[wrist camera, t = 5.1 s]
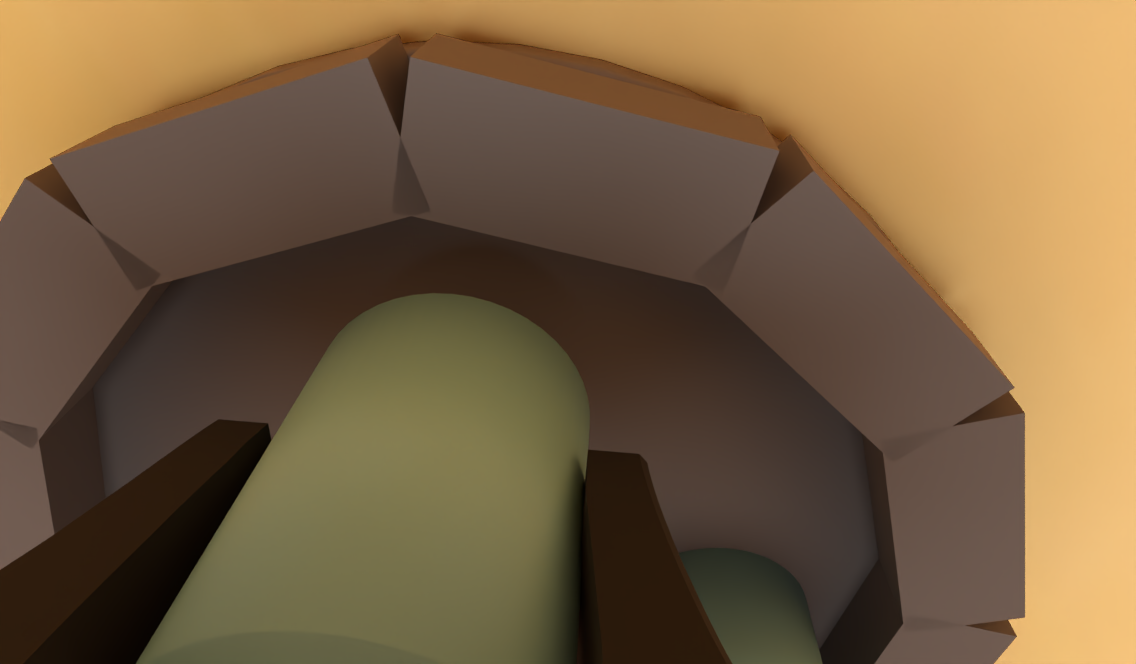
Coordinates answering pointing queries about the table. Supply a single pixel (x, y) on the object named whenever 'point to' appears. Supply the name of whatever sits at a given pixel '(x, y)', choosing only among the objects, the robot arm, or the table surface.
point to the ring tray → (529, 314)
